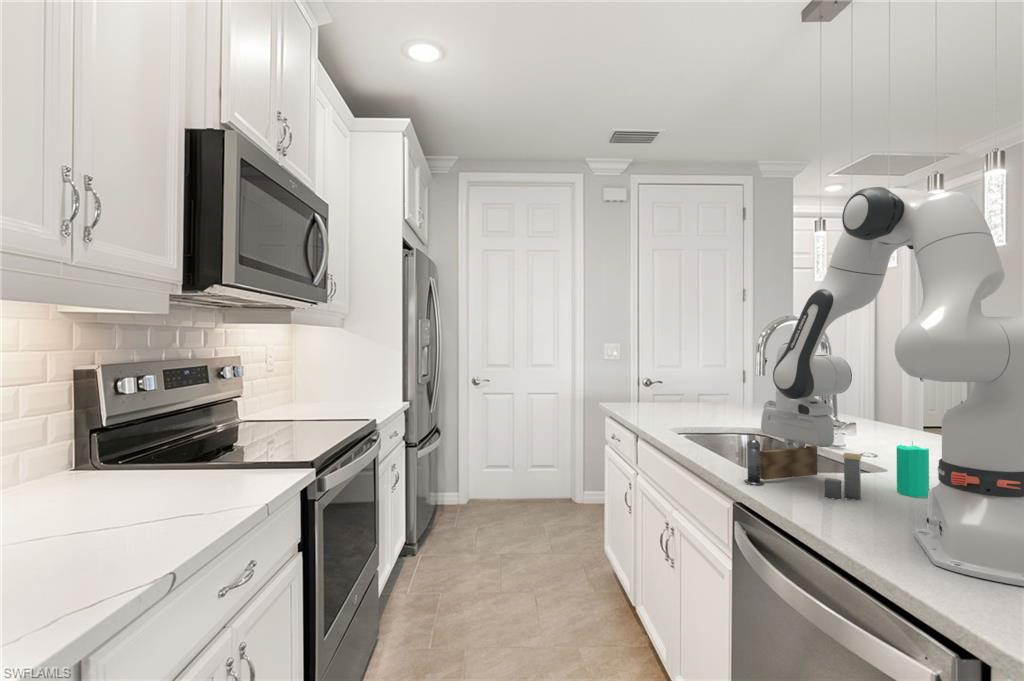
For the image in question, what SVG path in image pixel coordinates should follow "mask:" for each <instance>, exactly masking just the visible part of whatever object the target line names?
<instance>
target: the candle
mask: <svg viewBox="0 0 1024 681" xmlns="http://www.w3.org/2000/svg"><path fill="white" fill-rule="evenodd" d="M913 442H914V441H913V440H911V445H910V446H909V445H908V446H907V445H902V444H899V445H896V493H898V494H900V495H902V496H908V497H913V498H928V491H929V490H930V450H929V448H926V447H925V448H923V447H920V446H917V445H914V443H913Z"/></svg>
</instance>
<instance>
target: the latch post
mask: <svg viewBox="0 0 1024 681" xmlns="http://www.w3.org/2000/svg"><path fill="white" fill-rule="evenodd" d="M842 458H843V461H844V462H843V464H844V466H843V467H844V468H843V470H844V474H843V475H844V476H843V477H844V478H843V479H844V486H843V487H844V489H843V490H844V492H843V493H844V499H845V498H847V500H852V499H853V501H858V500H860V501H861V499H862V498H861V496H862V495H861V493H862V490H861V488H862V487H861V486H862V485H861V483H862V482H861V481H862V478H861V477H862V476H861V474H862V473H861V470H862V469H861V466H862V465H861V459H862V454H861V453H851V452H844V453H843V455H842ZM823 480H824V482H823V483H824V487H823V488H824V498H825V497H827V498H826V499H831V498H834V499H833V500H837V499H841V500H842V479H839V478H831V477H825V478H824V479H823Z"/></svg>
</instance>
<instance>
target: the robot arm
mask: <svg viewBox="0 0 1024 681" xmlns="http://www.w3.org/2000/svg"><path fill="white" fill-rule="evenodd" d="M841 217H842V218H841V219H842V226H843V231H842V233H841V235H840V237H839V239H838V241H837V242H836V245H835V247H834V250H833V253H832V256H831V258H830V262H829V265H828V268H827V271H826V274H825V276H824V277H823V279H822V282H821V283H820V285H819V286H818V288H816V290H815V292H813V294H811V295H810V296H809V298H808V299H807V301H806V302H805V304H804V306H803V309H802V311H801V312H800V315H799V317H798V320H797V322H796V323H795V327H794V329H793V332H792V334H791V336H790V339H789V341H788V342H785V343H782V344H781V345H780V346H779V347H778V349H777V353H776V360H775V366H774V367H773V371H772V372H773V373H772V381H773V383H774V385H775V387H776V389H775V400H771V399H770V400H767V401H766V402H765V403H764V404H763V410H762V413H761V414H762V415H761V423H760V430H761V432H762V434H763V435H768V436H771V437H775V438H781V439H784V444H785V447H786V449H793V448H806V445H808V446H812V445H813V446H817V448H829V447H831V446H833V444H834V442H835V428H834V421H833V419H832V417H831V415H833V410H834V409H833V407H832V406H831V405H829V404H827V403H825V402H823V401H822V400H819V399H818V398H816V397H824V396H835V395H838V394H842V393H844V392H846V391H847V390H848V389H849V388H850V387H851V385H852V384H851V383H852V380H853V372H852V369H851V366H850V365H849V363H848V362H847V361H846V360H845V359H844V358H842V357H839V356H835V355H831V353H830V354H829V353H827V352H824V351H822V350H821V349H818V348H819V346H820V343H821V342H822V340H823V338H824V334H825V333H826V330H827V329H828V327H829V326H830V325H831V324H832V323H834V322H835V321H836V320H837V319H839V318H840V317H841V318H842V317H843V316H845V315H847V314H849V313H852V312H854V311H856V310H860V309H862V308H864V307H865V306H867V305H869V304H870V303H872V302H873V301H874V300H875V299H876V297H877V295H878V294H879V292H880V290H881V288H882V286H883V282H884V280H885V276H886V273H887V271H888V266H889V262H890V261H891V260H890V259H891V257H892V254H893V253H894V252H895V251H896V250H898V249H899V248H902V247H904V246H906V247H907V248H908V249H909V250H913V251H914V256H915V261H916V265H917V267H918V272H919V278H920V281H921V286H922V287H921V288H922V303H921V306H920V310H919V311H918V313H917V314H916V316H915V317H914V318H913V320H912V321H911V322H909V323H908V324H906V325H905V326H904V327H903V328H902V329H901V330H900V332H899V334H898V335H897V337H896V340H895V342H894V343H895V344H894V356H895V359H896V361H897V363H898V365H899V367H900V368H901V369H902V371H904V373H906V374H907V375H908V376H911V377H913V378H918V379H924V380H927V381H928V380H929V381H935V382H941V383H974V384H973V388H972V390H971V392H970V393H969V395H968V397H967V398H966V399H965V400H964V401H962V402H961V403H959V404H957V405H955V406H953V407H950V409H947V411H946V412H945V413H944V415H943V416H942V418H941V419H942V420H941V458H940V459H939V460H938V465H937V472H938V473H937V474H938V481H939V483H938V484H937V485H936V486H934V487H932V488H931V489H929V491H928V497H927V517H926V523H927V528H915V529H914V532H913V536H914V537H915V539H916V541H917V542H918V544H919V545H920V547H922V550H923V551H924V552H925V553H926V555H927V557H928V558H929V560H930V561H931V563H932V564H934V566H938V567H940V568H943V569H946V570H949V571H952V572H955V573H960V574H963V575H967V576H971V577H975V578H979V579H984V580H989V581H992V582H993V581H994V582H998V583H1002V584H1003V583H1004V584H1007V585H1008V584H1009V585H1014V586H1020V587H1024V316H991V317H990V316H985V314H984V313H983V311H982V308H981V302H982V301H983V300H985V299H986V298H989V296H991V295H993V294H994V293H995V292H997V290H999V288H1000V287H1001V286H1002V284H1003V282H1004V279H1005V271H1004V267H1003V264H1002V262H1001V258H1000V255H999V252H998V249H997V246H996V244H995V240H994V237H993V234H992V232H991V229H990V227H989V225H988V223H987V219H986V218H985V217H984V214H983V213H982V211H981V210H980V208H979V207H978V205H977V203H976V202H975V200H974V199H973V198H972V197H971V196H970V195H968V194H967V193H964V192H961V191H953V190H951V191H950V190H949V191H942V192H937V193H934V192H929V191H924V190H917V189H913V188H905V187H902V188H901V187H899V188H898V187H889V188H886V187H883V186H874V187H866V188H862V189H860V190H857V191H856V192H855V193H853V194H852V195H851V196H850V197H849V199H848V201H847V202H846V203H845V206H844V208H843V210H842V216H841Z"/></svg>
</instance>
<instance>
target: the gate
mask: <svg viewBox="0 0 1024 681" xmlns="http://www.w3.org/2000/svg"><path fill="white" fill-rule="evenodd" d="M817 475H818V447H817V446H813V445H805V447H804V448H796V447H795V448H793V449H787V448H784V449H783V448H782V449H770V450H768V449H767V450H760V480H763V481H766V480H767V481H768V480H769V481H770V480H777V479H778V480H779V479H788V478H789V479H790V478H798V477H809V476H810V477H811V476H817Z"/></svg>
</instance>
